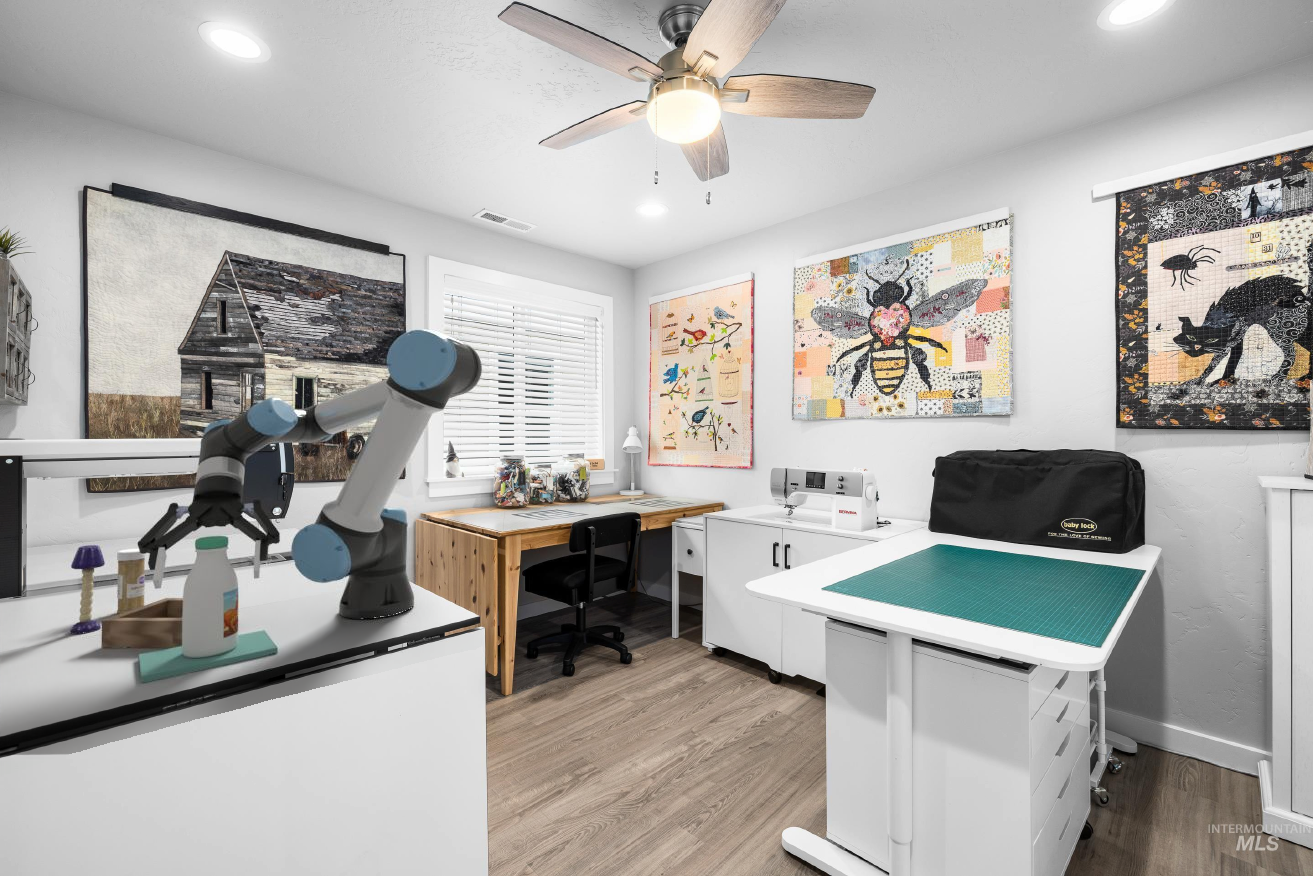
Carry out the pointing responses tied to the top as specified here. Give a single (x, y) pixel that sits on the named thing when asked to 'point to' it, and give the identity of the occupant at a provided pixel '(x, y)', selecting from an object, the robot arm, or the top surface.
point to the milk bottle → (210, 601)
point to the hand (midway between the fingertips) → (208, 579)
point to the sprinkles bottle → (130, 580)
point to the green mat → (177, 663)
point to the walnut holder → (146, 626)
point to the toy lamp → (87, 585)
